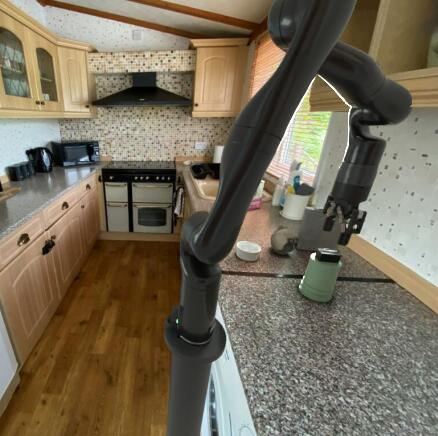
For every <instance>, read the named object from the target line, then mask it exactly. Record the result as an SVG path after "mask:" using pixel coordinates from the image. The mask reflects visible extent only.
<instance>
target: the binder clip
mask: <svg viewBox="0 0 438 436" xmlns="http://www.w3.org/2000/svg"><path fill="white" fill-rule="evenodd" d="M315 253H316V254H315V257H316V258H317V259H318V261H321V262H330V263H339V261H341V259H342V255H341V253H340V252H338V251H336V249H326V248H320V249H317V251H315Z"/></svg>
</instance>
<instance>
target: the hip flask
mask: <svg viewBox="0 0 438 436" xmlns="http://www.w3.org/2000/svg"><path fill="white" fill-rule="evenodd" d="M329 208H330V207H328V209H329ZM323 209H324V206H305V208H304V211H303V213H302V218H301V222H300V225H299V229H298V232H297V234H296V235H297V236H298V238H299V241H298V246H297V247H296V248H295V249H298V250H302V251H310V252H311V251H312V252H316V251H317V249H320V248H326V249H336V251H337V250H338V247H339V245H338V244H337V241H338V238H339V235H340V232H341V231H342V227H341V224H340V223H339V218H338V217H337V218H336V219H334V220H335V222H334V225H333V228H332V231H330V232H328V231H323V230H322V228H323V225H324V222H325V219H326V218H325V214H323ZM328 209H327V210H328ZM337 252H338V251H337Z"/></svg>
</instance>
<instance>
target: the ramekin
mask: <svg viewBox="0 0 438 436" xmlns="http://www.w3.org/2000/svg"><path fill="white" fill-rule="evenodd" d="M235 244H236V245H235V246H236V251H235V254H236V257H238V258H239V259H240V260H243V261H247V262H256V261H257V260H258V259H259V256H260V254H261V251H262V248H261V246H260V245H259V244H257V243H256V242H252V241H248V240H243V241H242V240H241V241H238V242H237V243H235Z"/></svg>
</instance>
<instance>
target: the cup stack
mask: <svg viewBox="0 0 438 436" xmlns="http://www.w3.org/2000/svg"><path fill="white" fill-rule="evenodd" d="M315 254H316V252H314V253H311V254H310V256H309V259H308V262H307V263H308V264H307V266H306V269H305V272H304V275H303V276H302V279H301V281H300V284H299V286H298V290H299V292H300V293H301V295H303V296H305V297H306V298H308V299H309V300H311V301H315V302H318V303H328V302H330V301H331V299H332V296H333V294H334V289H335V285H336V282H337V279H338V278H339V274H340V271H341V269H342V266H343V263H342V261H341V260H340V261H339V263H330V262H321V261H318V259H317V258H316V257H315Z"/></svg>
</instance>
